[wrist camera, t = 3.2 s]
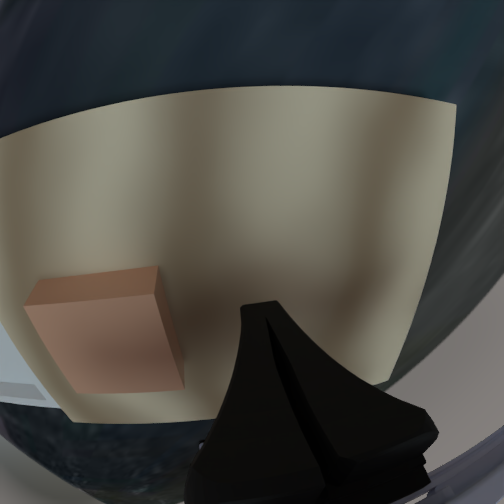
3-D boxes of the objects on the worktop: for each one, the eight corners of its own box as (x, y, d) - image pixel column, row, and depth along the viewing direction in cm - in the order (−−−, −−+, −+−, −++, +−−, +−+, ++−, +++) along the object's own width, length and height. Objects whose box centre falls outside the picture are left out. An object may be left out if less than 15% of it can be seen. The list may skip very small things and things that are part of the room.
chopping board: (425, 98, 11) (456, 104, 9) (375, 358, 19) (388, 380, 17) (-33, 152, 8) (-60, 166, 6) (77, 397, 16) (72, 421, 15)
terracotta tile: (158, 265, 10) (153, 293, 9) (183, 360, 13) (184, 389, 11) (38, 280, 10) (23, 306, 8) (83, 366, 12) (77, 393, 11)
